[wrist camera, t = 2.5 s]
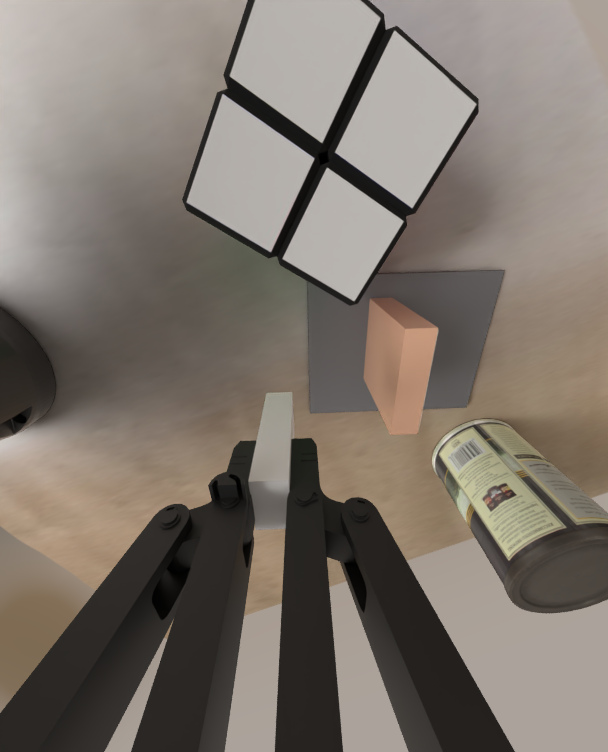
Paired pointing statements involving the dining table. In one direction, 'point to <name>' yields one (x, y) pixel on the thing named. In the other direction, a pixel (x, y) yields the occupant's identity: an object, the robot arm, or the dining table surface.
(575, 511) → the coffee can
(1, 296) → the dining table surface
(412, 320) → the tile
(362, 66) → the puzzle cube
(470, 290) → the mat
